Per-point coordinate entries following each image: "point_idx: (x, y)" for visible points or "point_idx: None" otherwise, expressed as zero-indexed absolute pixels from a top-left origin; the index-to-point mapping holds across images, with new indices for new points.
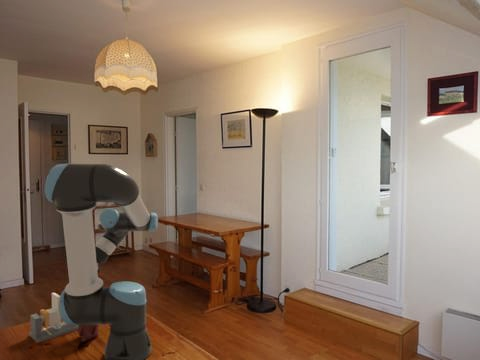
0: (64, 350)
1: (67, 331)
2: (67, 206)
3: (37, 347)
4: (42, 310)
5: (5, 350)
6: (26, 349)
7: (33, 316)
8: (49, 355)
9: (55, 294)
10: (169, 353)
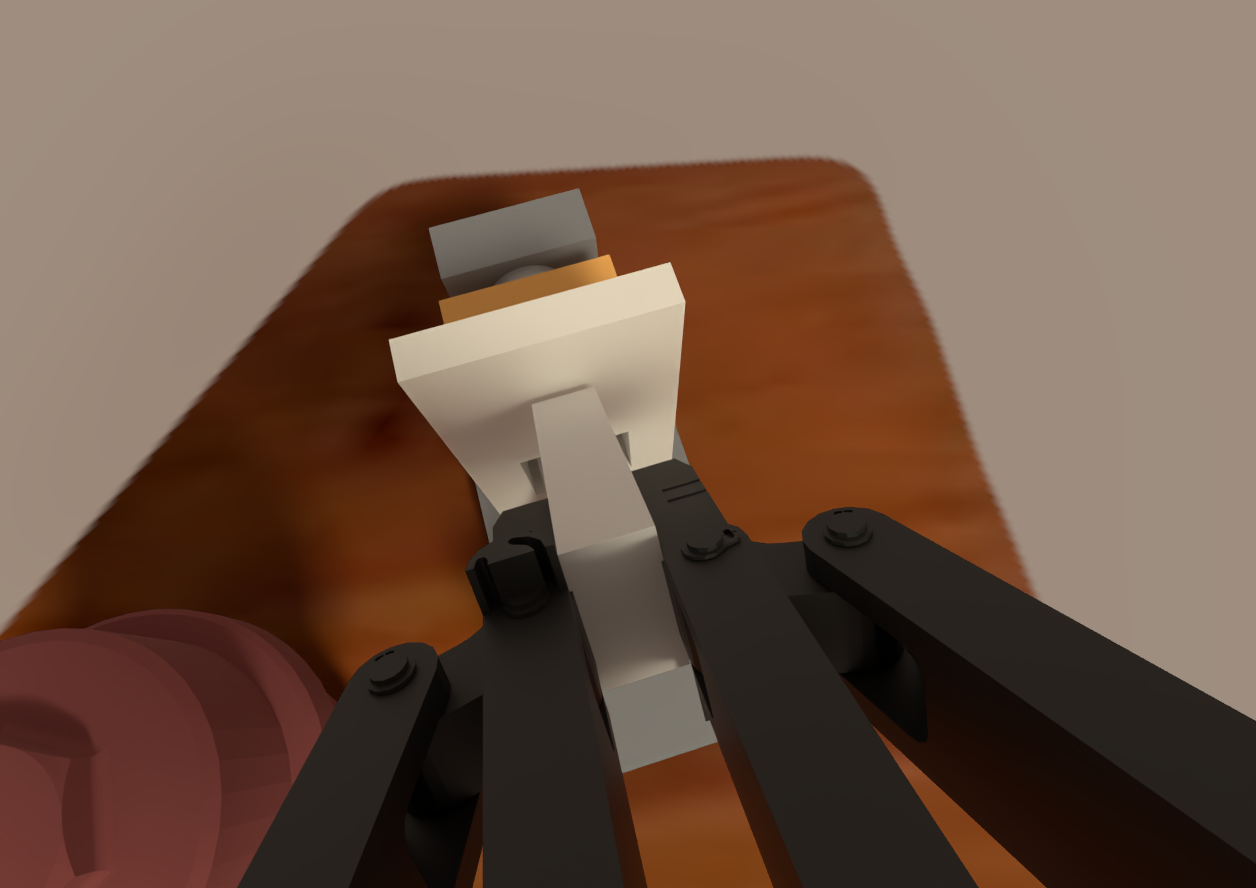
0: (167, 543)
1: None
2: None
3: (367, 360)
4: (575, 274)
5: (457, 180)
6: (383, 294)
7: (518, 213)
8: (166, 434)
9: (554, 313)
10: None
